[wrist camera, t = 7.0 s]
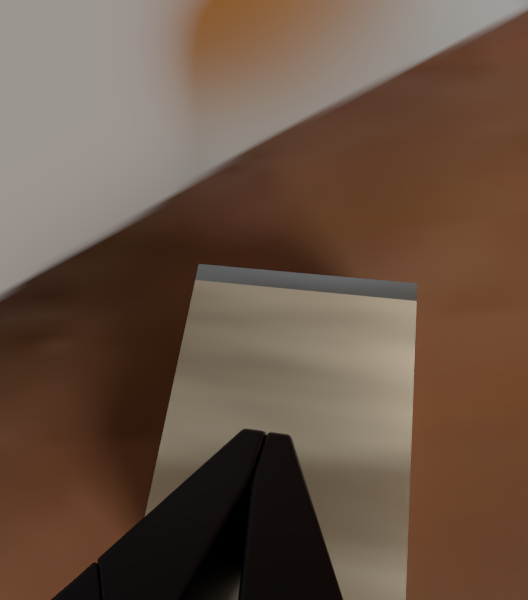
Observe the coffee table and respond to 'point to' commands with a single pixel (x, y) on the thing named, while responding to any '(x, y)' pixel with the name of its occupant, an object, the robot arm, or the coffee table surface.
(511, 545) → the coffee table surface
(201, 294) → the birch block
